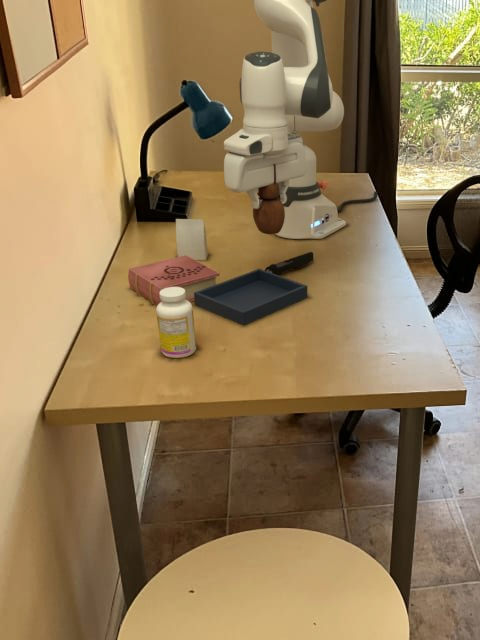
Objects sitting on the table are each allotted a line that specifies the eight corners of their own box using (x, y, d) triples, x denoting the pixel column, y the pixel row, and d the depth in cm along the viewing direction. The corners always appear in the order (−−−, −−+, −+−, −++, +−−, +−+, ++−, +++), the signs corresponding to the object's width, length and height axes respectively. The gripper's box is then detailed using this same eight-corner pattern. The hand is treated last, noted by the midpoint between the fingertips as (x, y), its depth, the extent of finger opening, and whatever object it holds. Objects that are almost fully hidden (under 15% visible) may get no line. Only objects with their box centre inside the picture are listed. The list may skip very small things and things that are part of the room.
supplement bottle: (175, 341, 150) (169, 281, 144) (203, 348, 148) (198, 288, 142) (153, 355, 145) (146, 294, 139) (182, 362, 143) (176, 301, 137)
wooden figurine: (290, 233, 161) (288, 164, 154) (267, 239, 157) (264, 168, 151) (271, 225, 165) (269, 157, 158) (249, 230, 162) (245, 161, 155)
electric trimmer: (317, 264, 191) (317, 253, 190) (272, 280, 180) (272, 268, 179) (307, 261, 193) (306, 249, 192) (261, 276, 182) (261, 264, 181)
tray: (259, 280, 180) (259, 268, 179) (307, 297, 172) (307, 285, 171) (194, 305, 166) (193, 292, 164) (243, 325, 158) (243, 312, 157)
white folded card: (205, 260, 190) (202, 222, 185) (178, 259, 189) (174, 221, 185) (207, 254, 193) (204, 217, 189) (180, 254, 192) (177, 216, 188)
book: (127, 290, 171) (125, 269, 169) (187, 274, 181) (185, 254, 179) (159, 310, 162) (157, 289, 160) (220, 292, 172) (219, 272, 170)
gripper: (290, 128, 161) (292, 191, 168) (216, 143, 146) (221, 211, 153) (312, 133, 158) (313, 197, 165) (239, 148, 143) (243, 218, 150)
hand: (268, 204), depth 159 cm, fingers closed on wooden figurine, 5 cm apart
